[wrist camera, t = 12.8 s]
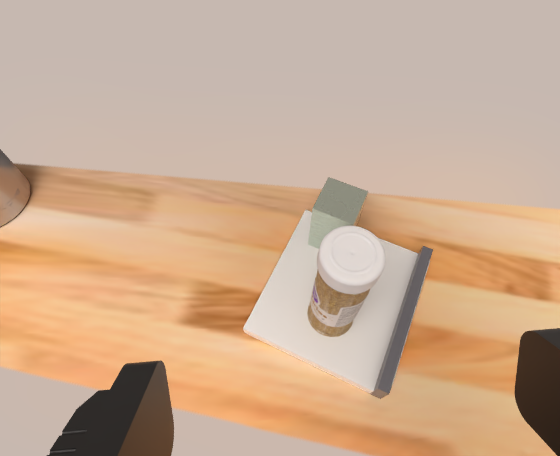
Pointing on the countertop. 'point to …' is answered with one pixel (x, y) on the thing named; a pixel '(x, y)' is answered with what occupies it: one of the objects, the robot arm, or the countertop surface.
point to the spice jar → (344, 278)
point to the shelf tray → (366, 326)
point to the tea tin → (335, 209)
